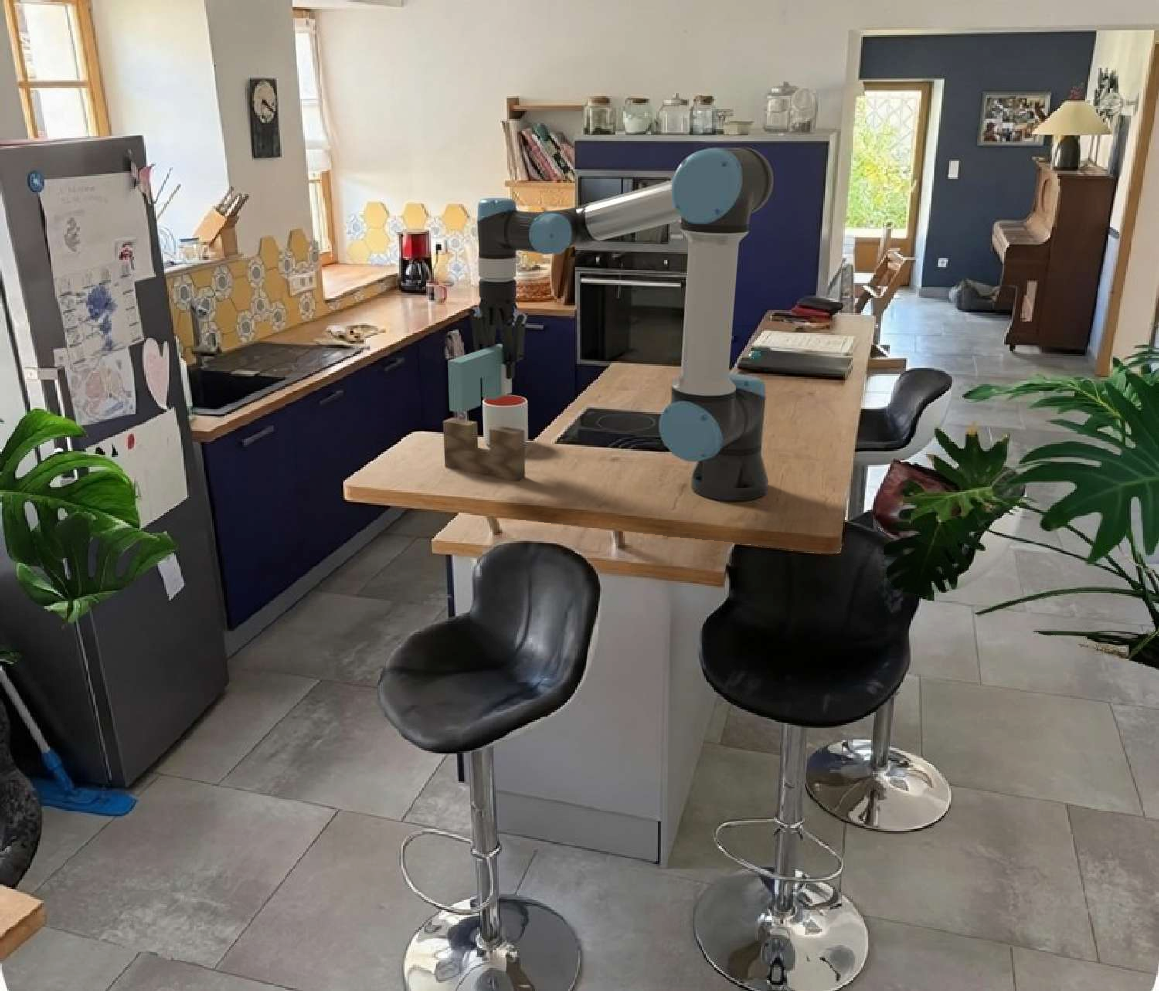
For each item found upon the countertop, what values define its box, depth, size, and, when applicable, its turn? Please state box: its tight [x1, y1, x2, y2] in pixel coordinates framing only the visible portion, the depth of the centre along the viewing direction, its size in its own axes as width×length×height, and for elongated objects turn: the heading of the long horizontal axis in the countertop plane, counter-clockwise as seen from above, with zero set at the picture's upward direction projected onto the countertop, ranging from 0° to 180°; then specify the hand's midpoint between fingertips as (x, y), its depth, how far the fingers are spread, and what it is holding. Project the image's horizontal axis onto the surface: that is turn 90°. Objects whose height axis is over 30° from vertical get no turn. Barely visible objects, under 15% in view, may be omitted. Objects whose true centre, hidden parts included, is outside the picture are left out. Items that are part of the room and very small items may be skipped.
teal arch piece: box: [447, 343, 513, 414], centre depth 206 cm, size 18×3×10 cm, turn 151°
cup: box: [482, 394, 529, 447], centre depth 230 cm, size 10×10×10 cm
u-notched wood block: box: [442, 417, 526, 482], centre depth 211 cm, size 18×3×10 cm, turn 61°
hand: (499, 392), depth 213 cm, fingers closed on teal arch piece, 3 cm apart
